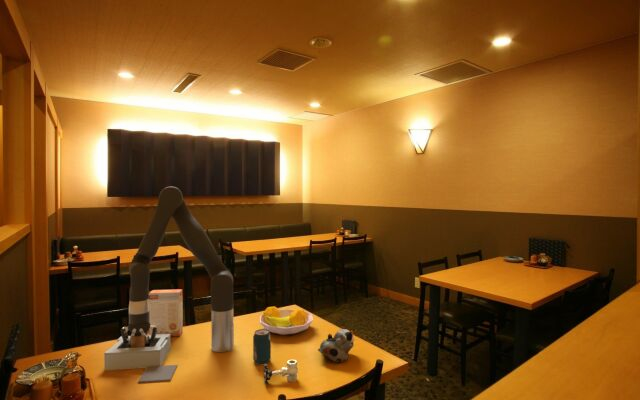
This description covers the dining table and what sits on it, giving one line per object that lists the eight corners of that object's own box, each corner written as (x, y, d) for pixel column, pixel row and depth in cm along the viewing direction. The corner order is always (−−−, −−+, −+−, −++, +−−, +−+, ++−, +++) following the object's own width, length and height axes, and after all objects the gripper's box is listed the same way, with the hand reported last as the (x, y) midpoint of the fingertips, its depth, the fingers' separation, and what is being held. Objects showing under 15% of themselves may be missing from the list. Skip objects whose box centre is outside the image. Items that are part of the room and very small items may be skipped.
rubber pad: (177, 366, 142) (177, 364, 142) (170, 380, 131) (170, 379, 131) (147, 368, 140) (147, 366, 140) (137, 383, 129) (137, 381, 129)
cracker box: (183, 331, 177) (183, 288, 176) (179, 336, 171) (179, 292, 170) (153, 332, 175) (152, 289, 175) (148, 337, 169) (148, 292, 169)
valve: (295, 374, 136) (263, 378, 133) (295, 357, 136) (263, 361, 133) (299, 383, 130) (265, 388, 127) (299, 365, 130) (265, 369, 127)
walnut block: (148, 351, 150) (148, 331, 150) (144, 356, 146) (144, 336, 145) (135, 351, 150) (135, 332, 149) (130, 357, 145) (130, 337, 145)
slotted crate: (170, 349, 157) (170, 333, 157) (160, 366, 141) (160, 349, 141) (120, 351, 154) (120, 336, 154) (104, 370, 138) (104, 353, 138)
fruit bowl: (290, 316, 199) (290, 295, 199) (324, 330, 179) (324, 307, 179) (245, 329, 180) (245, 306, 180) (277, 346, 160) (277, 321, 160)
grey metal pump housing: (323, 347, 159) (338, 318, 161) (346, 363, 155) (362, 333, 156) (313, 351, 145) (329, 320, 147) (338, 369, 141) (355, 336, 142)
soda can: (273, 358, 148) (273, 329, 148) (265, 366, 142) (265, 336, 142) (258, 356, 151) (258, 327, 150) (249, 363, 144) (249, 333, 144)
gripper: (160, 306, 152) (160, 347, 152) (123, 308, 150) (124, 349, 150) (155, 312, 145) (155, 355, 145) (116, 314, 142) (116, 357, 143)
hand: (139, 351), depth 148 cm, fingers closed on walnut block, 5 cm apart
